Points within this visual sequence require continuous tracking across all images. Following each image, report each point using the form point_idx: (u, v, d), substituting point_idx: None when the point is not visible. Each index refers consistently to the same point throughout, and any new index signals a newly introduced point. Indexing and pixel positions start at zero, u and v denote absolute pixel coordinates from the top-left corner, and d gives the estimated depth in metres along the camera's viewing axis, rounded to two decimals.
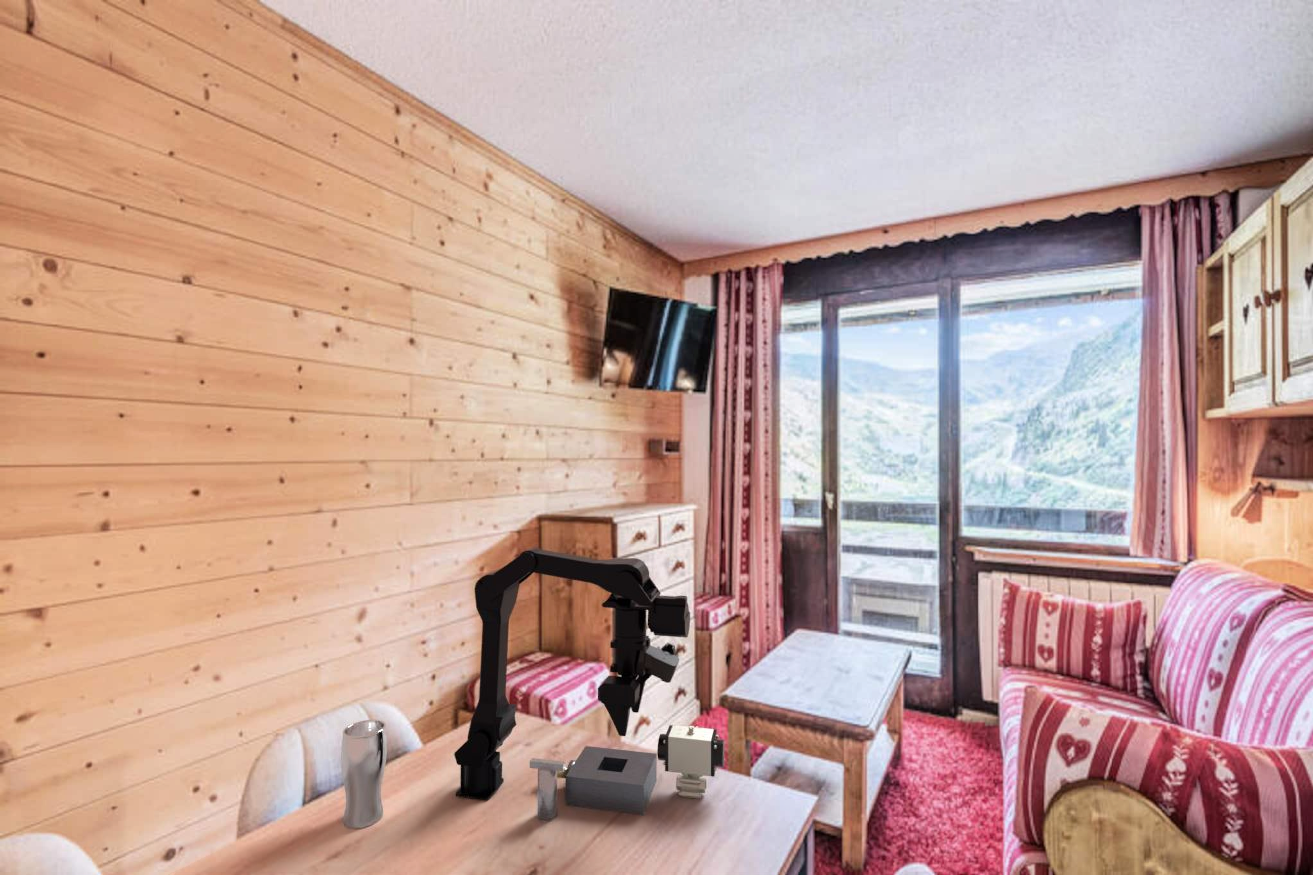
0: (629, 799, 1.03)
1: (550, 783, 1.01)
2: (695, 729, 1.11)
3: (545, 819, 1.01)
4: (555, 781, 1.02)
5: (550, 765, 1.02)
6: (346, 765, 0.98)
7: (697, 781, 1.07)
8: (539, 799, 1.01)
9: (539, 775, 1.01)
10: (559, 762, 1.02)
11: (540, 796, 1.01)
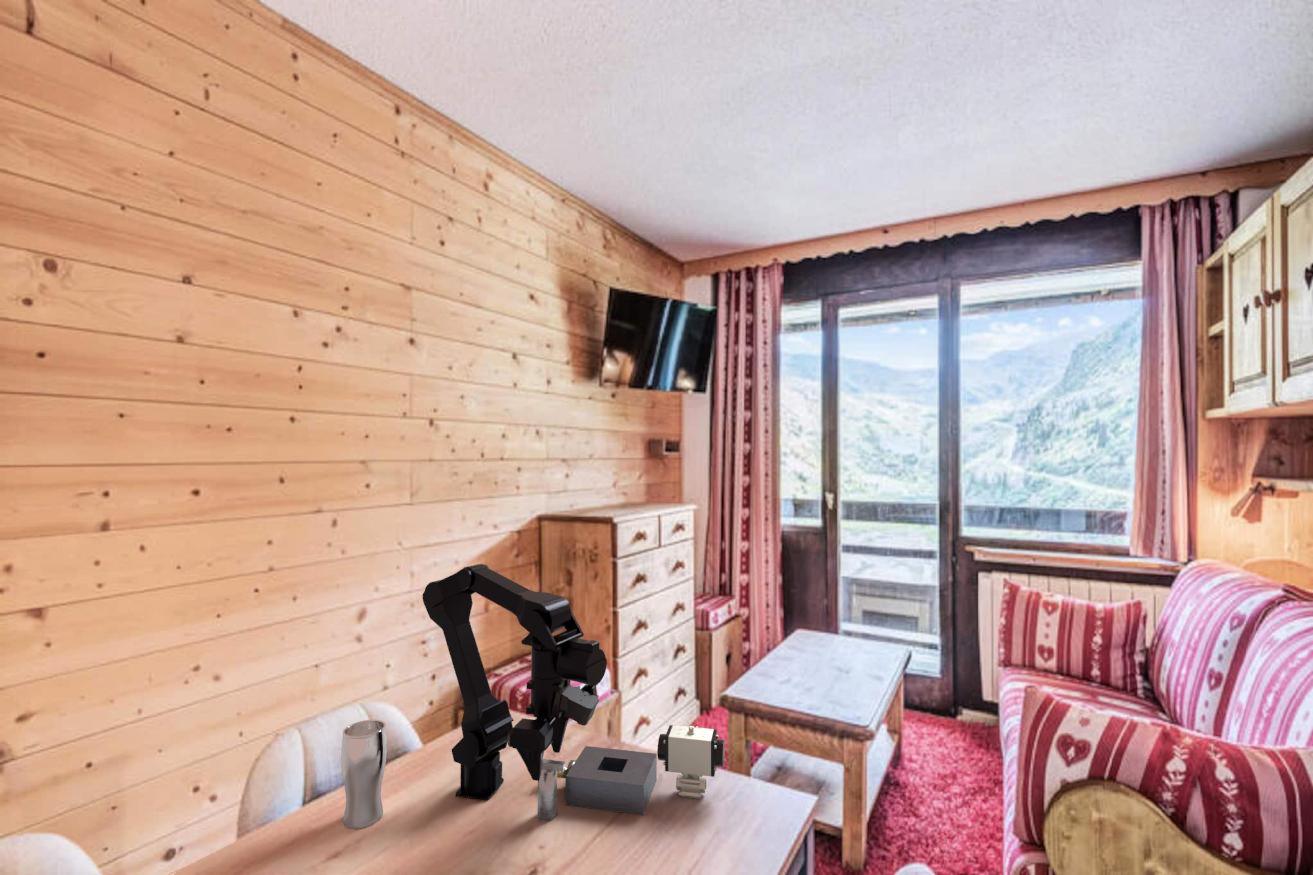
0: (629, 799, 1.03)
1: (550, 783, 1.01)
2: (695, 729, 1.11)
3: (545, 819, 1.01)
4: (555, 781, 1.02)
5: (550, 765, 1.02)
6: (346, 765, 0.98)
7: (697, 781, 1.07)
8: (539, 799, 1.01)
9: None
10: (559, 762, 1.02)
11: (540, 796, 1.01)
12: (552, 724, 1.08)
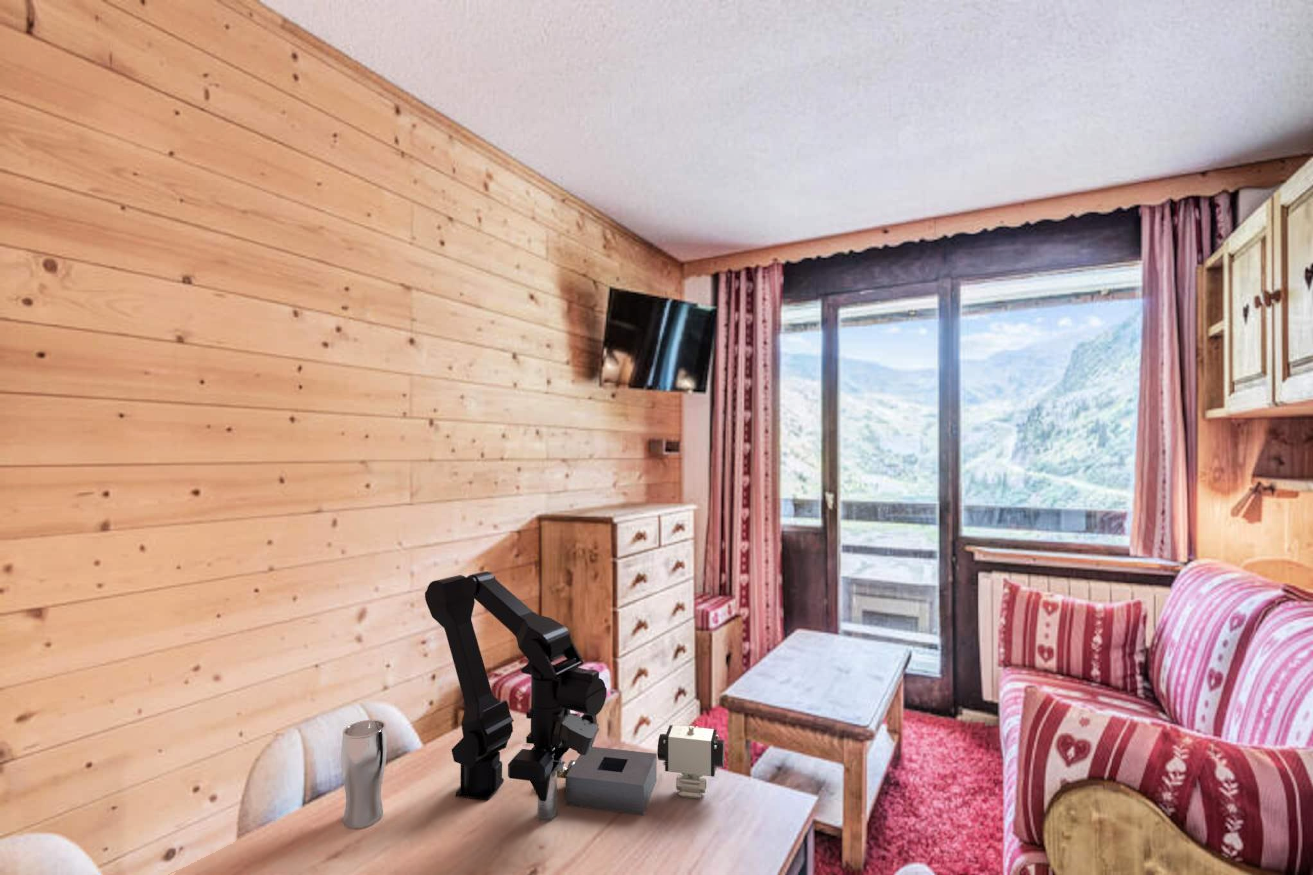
0: (629, 799, 1.03)
1: (550, 783, 1.01)
2: (695, 729, 1.11)
3: (545, 819, 1.01)
4: (555, 781, 1.02)
5: None
6: (346, 765, 0.98)
7: (697, 781, 1.07)
8: None
9: None
10: (559, 762, 1.02)
11: None
12: None
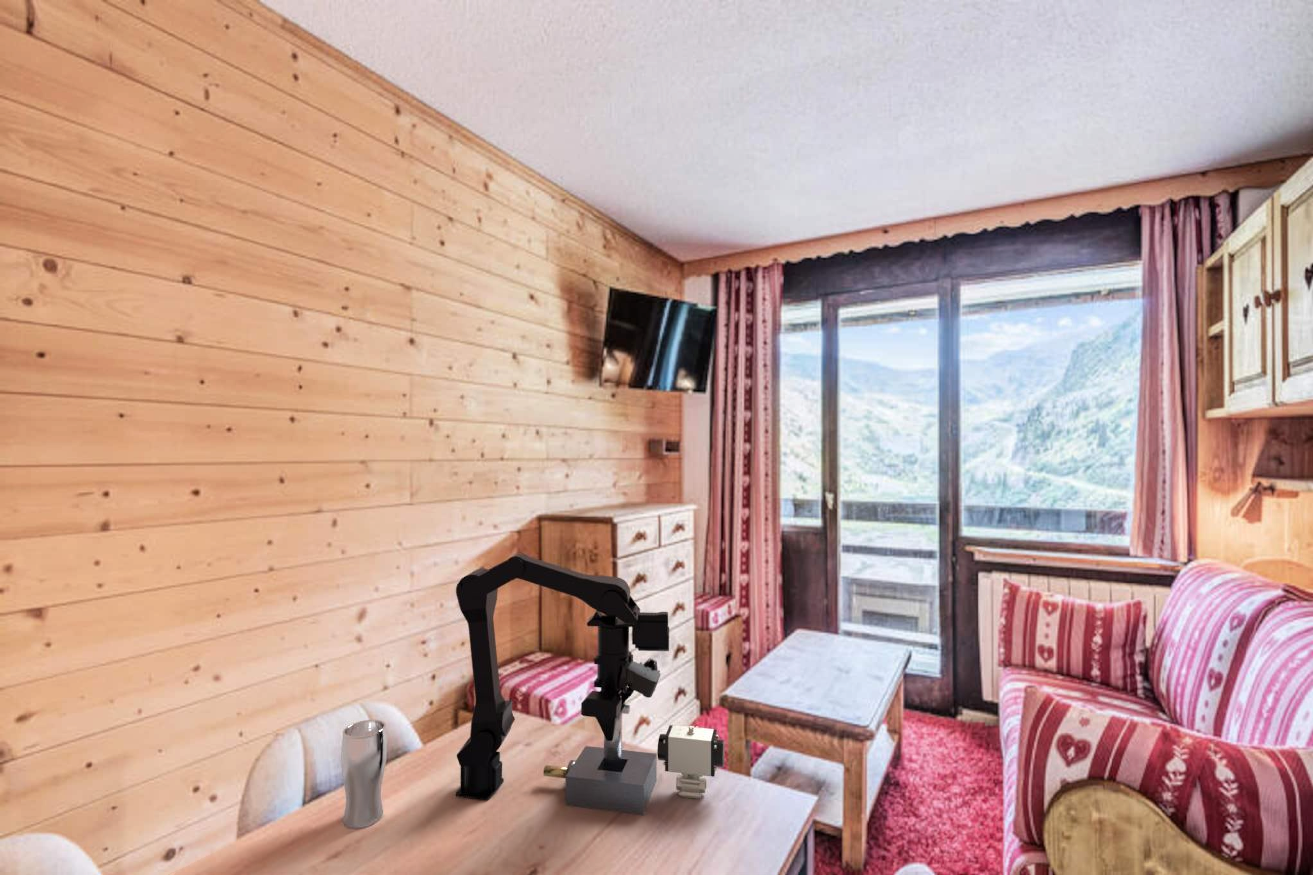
0: (629, 799, 1.03)
1: (617, 724, 1.08)
2: (695, 729, 1.11)
3: (612, 758, 1.08)
4: (620, 723, 1.09)
5: None
6: (346, 765, 0.98)
7: (697, 781, 1.07)
8: None
9: None
10: None
11: None
12: None
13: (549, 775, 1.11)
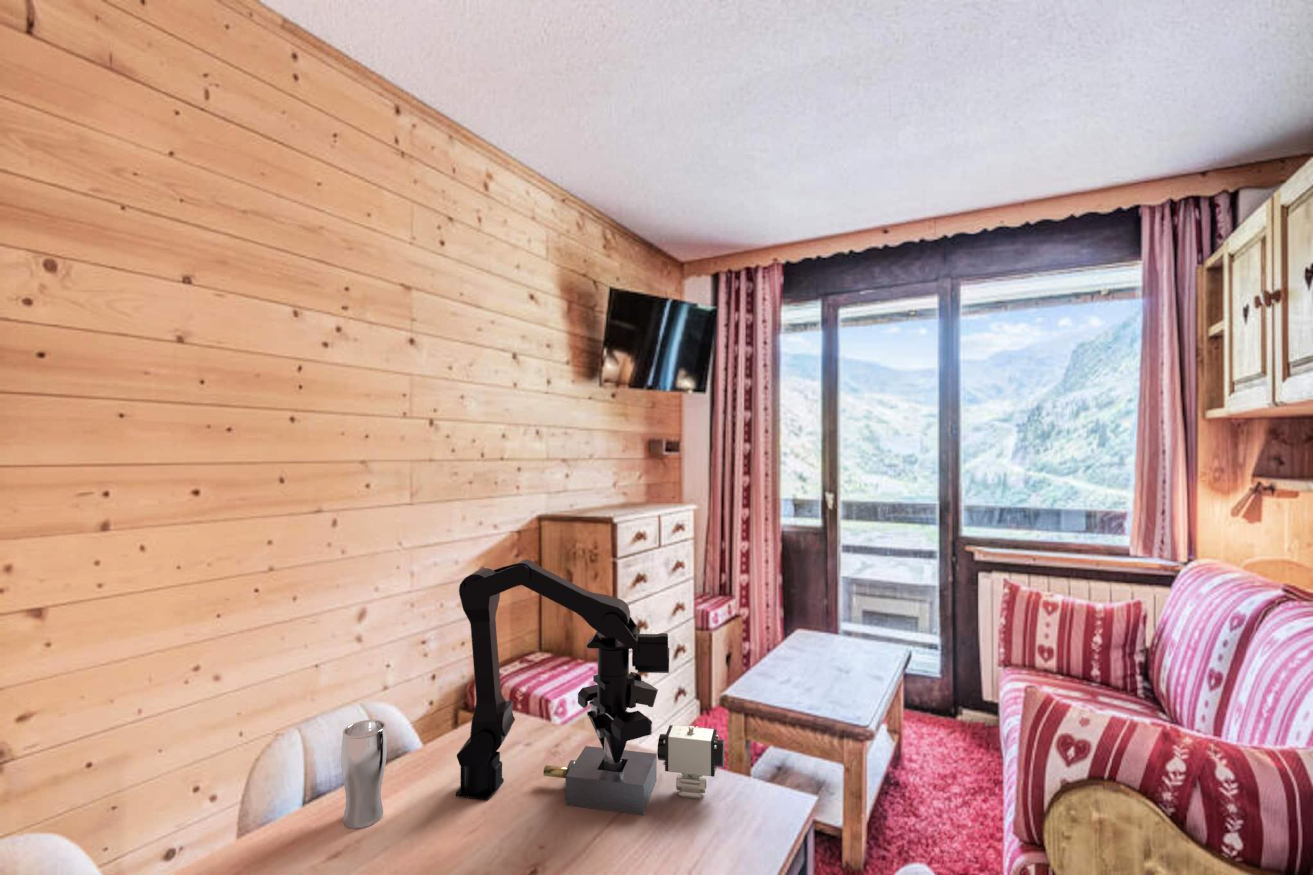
0: (629, 799, 1.03)
1: None
2: (695, 729, 1.11)
3: None
4: None
5: None
6: (346, 765, 0.98)
7: (697, 781, 1.07)
8: (612, 763, 1.08)
9: None
10: None
11: None
12: None
13: (549, 775, 1.11)
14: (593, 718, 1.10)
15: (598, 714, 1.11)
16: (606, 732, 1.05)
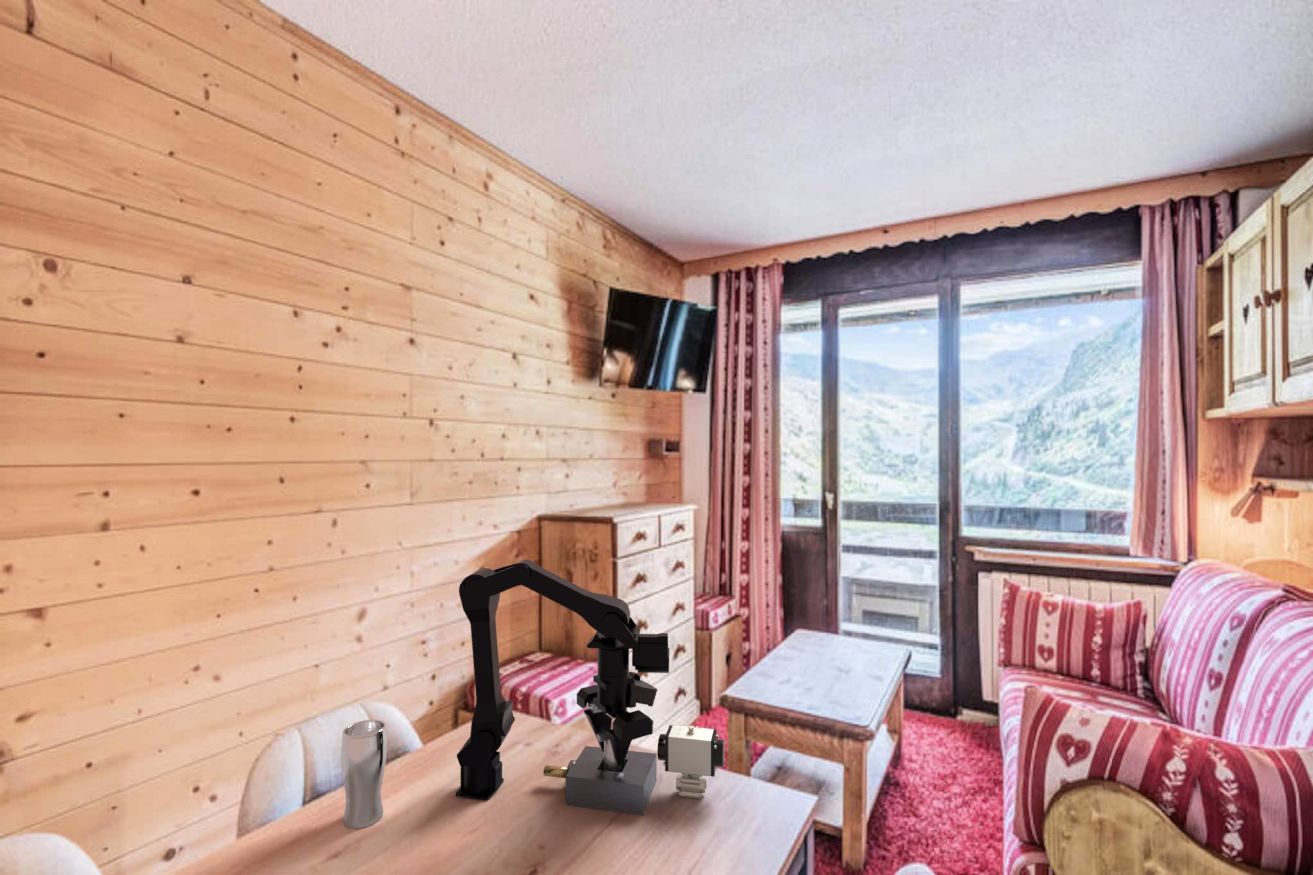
0: (629, 799, 1.03)
1: None
2: (695, 729, 1.11)
3: None
4: None
5: None
6: (346, 765, 0.98)
7: (697, 781, 1.07)
8: (612, 767, 1.08)
9: None
10: None
11: (613, 763, 1.08)
12: (600, 726, 1.12)
13: (549, 775, 1.11)
14: (590, 716, 1.11)
15: (595, 712, 1.12)
16: (610, 734, 1.04)
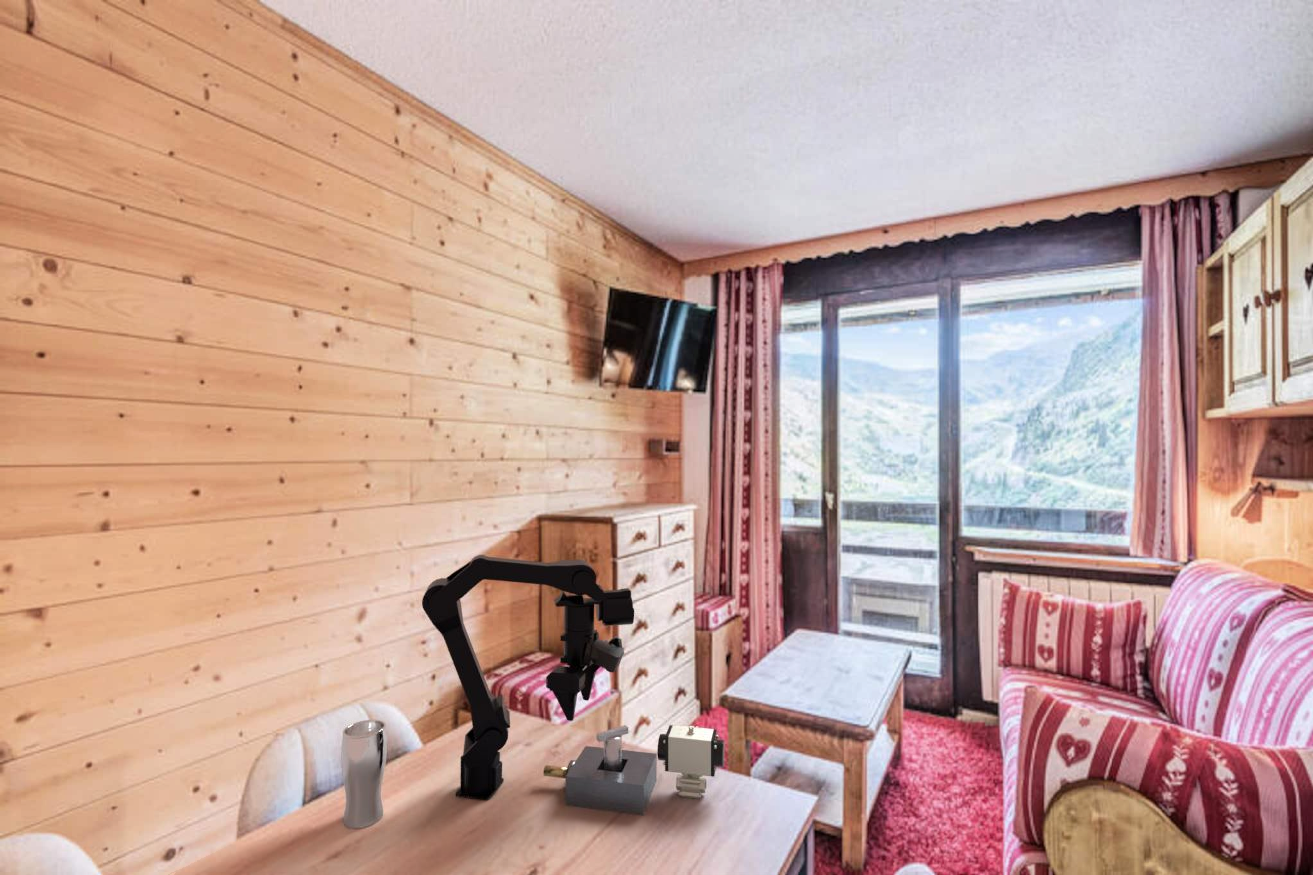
0: (629, 799, 1.03)
1: (621, 747, 1.09)
2: (695, 729, 1.11)
3: None
4: None
5: (617, 732, 1.09)
6: (346, 765, 0.98)
7: (697, 781, 1.07)
8: (612, 767, 1.08)
9: (611, 744, 1.08)
10: (622, 727, 1.11)
11: (613, 763, 1.08)
12: None
13: (549, 775, 1.11)
14: None
15: None
16: None
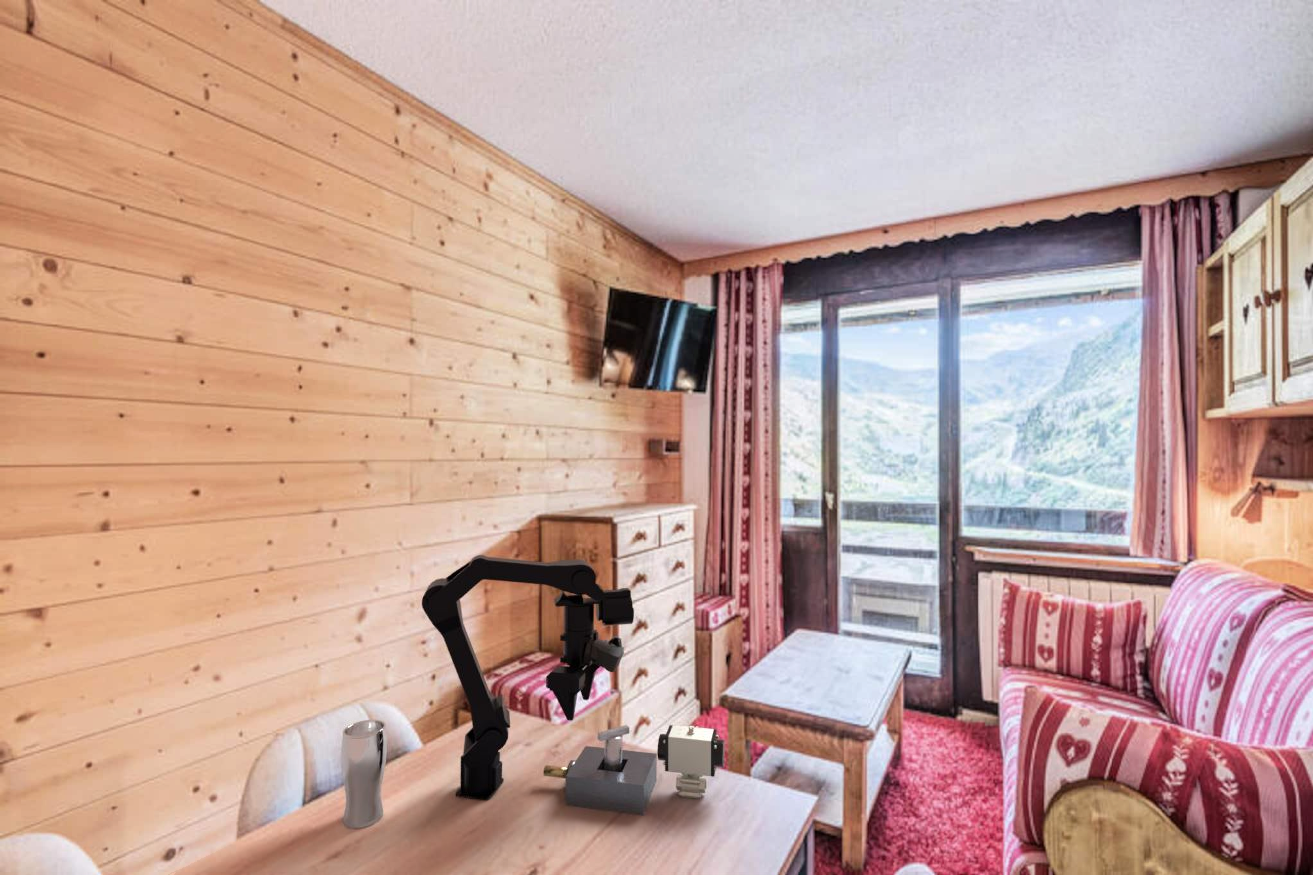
0: (629, 799, 1.03)
1: (621, 747, 1.09)
2: (695, 729, 1.11)
3: None
4: None
5: (618, 731, 1.10)
6: (346, 765, 0.98)
7: (697, 781, 1.07)
8: (612, 766, 1.08)
9: (612, 744, 1.08)
10: (623, 727, 1.11)
11: (614, 763, 1.08)
12: None
13: (549, 775, 1.11)
14: None
15: None
16: None
